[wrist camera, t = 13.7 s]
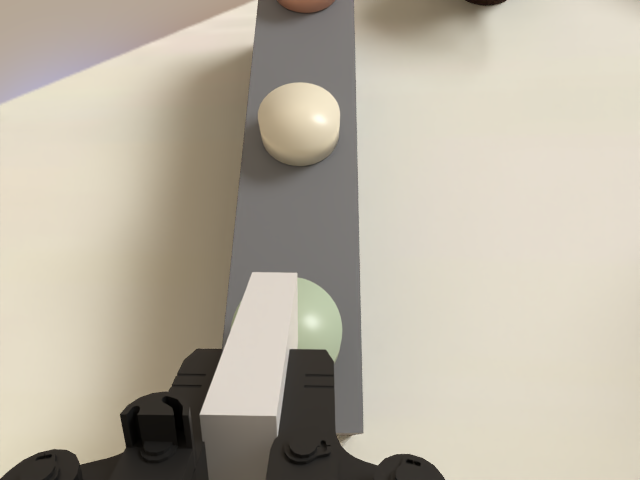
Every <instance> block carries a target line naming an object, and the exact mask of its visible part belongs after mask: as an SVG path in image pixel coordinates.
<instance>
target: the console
mask: <svg viewBox="0 0 640 480" xmlns="http://www.w3.org/2000/svg"><path fill="white" fill-rule="evenodd" d="M298 82H302V83H310V84H314V85H317V86H320V87H322V88H324V89H325V90H327V91H328V92H329V93H330V94H331V95H332V96H333V97H334V98H335V100H336V101H337V103H338V105H339V109H340V127H339V139H338V143H337V145H336V147H335V149H334V150H333V152H332V153H331V154H330V155H329V156H328V157H326V158H325V159H323V160H322V161H320V162H317V163H315V164H312V165H307V166H292V165H287V164H284V163H282V162H279V161H278V160H276V159H275V158H273V157H272V156H271V155H270V154H269V153H268V152H267V150H266V149H265V147H264V145H263V142H262V137H261V132H260V127H259V122H258V110H259V107H260V104H261V102H262V101H263V99H264V98H265V97H266V96H267V95H268V94H269V93H270V92H271V91H273V90H274V89H276V88H278V87H280V86H283V85H285V84H289V83H298ZM252 272H281V273H297V277H298V278H303V279H306V280H309V281H311V282H313V283H315V284H317V285H318V286H320V287H321V288H322V289H324V290H325V291H326V292H327V293H328V294H329V295H330V297H331V298H332V299H333V301H334V302H335V304H336V306H337V308H338V310H339V313H340V316H341V321H342V340H341V345H340V350H339V354H338V357H337V360H336V362H335V364H334V389H335V431H336V435H356V434H362V433H363V396H362V350H361V305H360V259H359V213H358V167H357V122H356V76H355V30H354V0H335V1H334V2H333V3H332V4H331V5H330V6H329V7H327V8H325V9H323V10H320V11H317V12H312V13H300V12H294V11H291V10H289V9H286V8H285V7H283V6H282V5H281V4H279V2H278V1H277V0H258V8H257V18H256V27H255V37H254V47H253V56H252V66H251V75H250V85H249V95H248V104H247V114H246V123H245V133H244V143H243V152H242V162H241V171H240V181H239V190H238V200H237V210H236V219H235V229H234V238H233V248H232V258H231V267H230V277H229V286H228V296H227V306H226V315H225V325H224V334H223V344H222V349H224V347H225V345H226V342H227V339H228V336H229V334H230V331H231V324H232V319H233V316H234V313H235V311H236V309H237V307H238V305H239V303H240V302H241V301H242V299H243V296H244V293H245V291H246V288H247V285H248V282H249V280H250V277H251V274H252Z"/></svg>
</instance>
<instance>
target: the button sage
mask: <svg viewBox="0 0 640 480" xmlns="http://www.w3.org/2000/svg"><path fill="white" fill-rule="evenodd" d="M297 288H298V348H297V349H326V350H327V352H328V353H329V355H330V356H331V358H332V359H333V361H334V364H335V362H336V360H337V357H338V354H339V350H340V345H341V340H342V321H341V316H340V313H339V310H338V308H337V306H336V304H335V302H334V301H333V299H332V298H331V297H330V295H329V294H328V293H327V292H326V291H325V290H324V289H322V288H321V287H320V286H318V285H317V284H315V283H313V282H311V281H309V280H306V279H303V278H298V277H297ZM240 304H241V302H240V303H239V305H238V307H237V309H236V311H235V313H234V316H233V319H232V324H231V328H232V326H233V323H234V320H235V318H236V315H237V312H238V309H239V307H240Z"/></svg>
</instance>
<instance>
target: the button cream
mask: <svg viewBox="0 0 640 480" xmlns="http://www.w3.org/2000/svg"><path fill="white" fill-rule="evenodd" d="M258 122H259V127H260V132H261V137H262V142H263V145H264V147H265V149H266V150H267V152H268V153H269V154H270V155H271V156H272V157H273V158H275V159H276V160H278V161H279V162H282V163H284V164H287V165H292V166H307V165H312V164H315V163H317V162H320V161H322V160H323V159H325V158H326V157H328V156H329V155H330V154H331V153H332V152H333V150H334V149H335V147H336V145H337V143H338V139H339V127H340V109H339V105H338V103H337V101H336V100H335V98H334V97H333V96H332V95H331V94H330V93H329V92H328V91H327V90H325V89H324V88H322V87H320V86H317V85H314V84H310V83H302V82H298V83H289V84H285V85H283V86H280V87H278V88H276V89H274V90H273V91H271V92H270V93H269V94H268V95H267V96H266V97H265V98H264V99H263V101H262V102H261V104H260V107H259V110H258Z"/></svg>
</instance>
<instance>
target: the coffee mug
mask: <svg viewBox="0 0 640 480" xmlns="http://www.w3.org/2000/svg"><path fill="white" fill-rule="evenodd" d="M466 1H468V2H471V3H473V4H478V5H496V4H500V3H502V2H505V1H506V0H466Z"/></svg>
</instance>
